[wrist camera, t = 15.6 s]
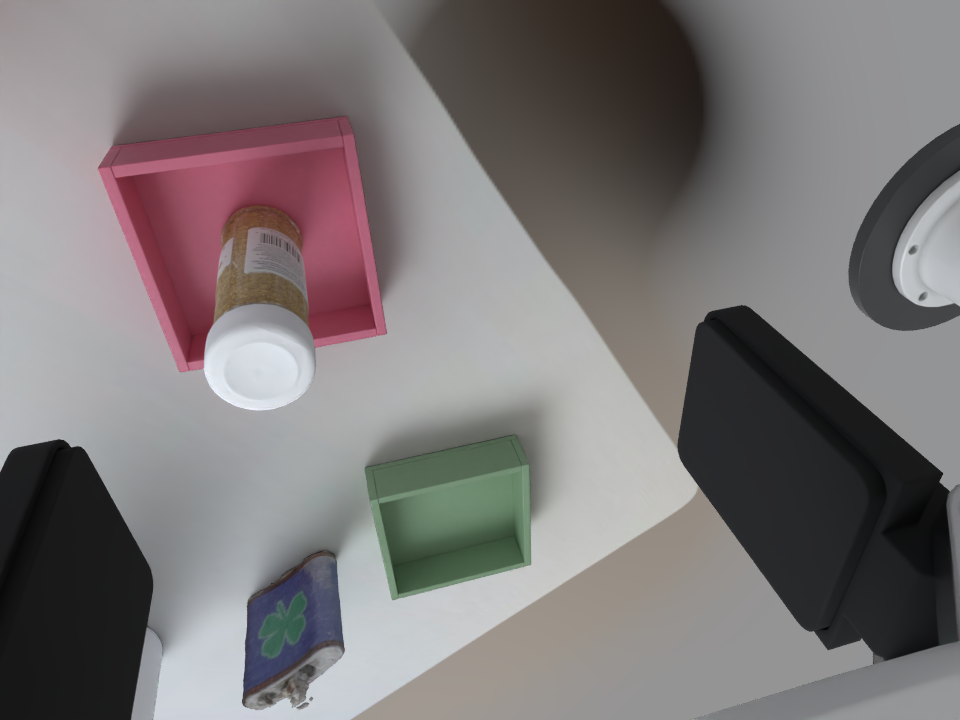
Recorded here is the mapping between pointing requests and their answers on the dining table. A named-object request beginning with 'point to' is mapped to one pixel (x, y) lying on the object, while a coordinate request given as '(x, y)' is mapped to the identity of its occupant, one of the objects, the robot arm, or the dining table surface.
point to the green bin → (452, 515)
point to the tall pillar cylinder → (148, 678)
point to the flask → (292, 633)
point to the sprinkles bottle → (260, 313)
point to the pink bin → (238, 184)
